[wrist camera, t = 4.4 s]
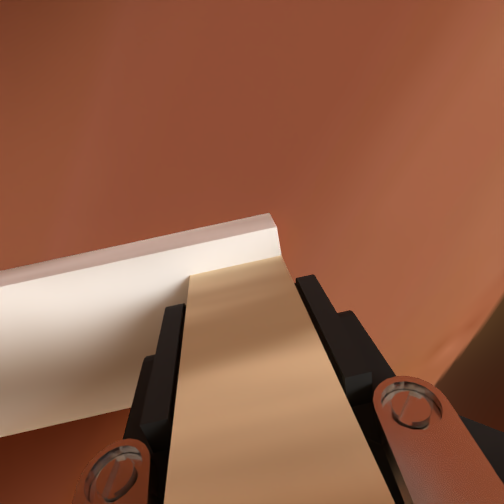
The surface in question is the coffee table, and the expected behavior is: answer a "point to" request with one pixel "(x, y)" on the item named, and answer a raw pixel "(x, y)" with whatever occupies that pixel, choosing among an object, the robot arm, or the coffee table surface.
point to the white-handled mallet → (191, 364)
